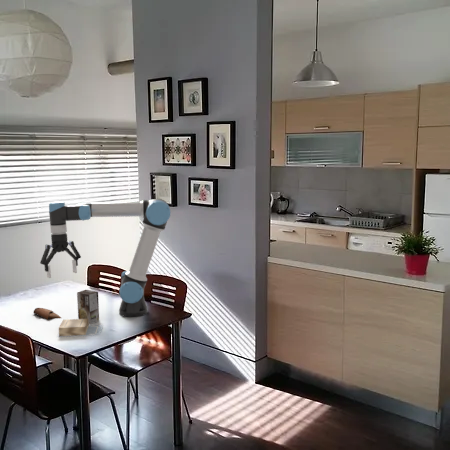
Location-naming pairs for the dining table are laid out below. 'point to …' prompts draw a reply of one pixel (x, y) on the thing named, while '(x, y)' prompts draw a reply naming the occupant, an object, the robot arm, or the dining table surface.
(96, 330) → the board
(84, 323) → the oak plinth
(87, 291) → the coffee box
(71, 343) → the dining table surface
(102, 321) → the dining table surface
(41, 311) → the sunglasses case
